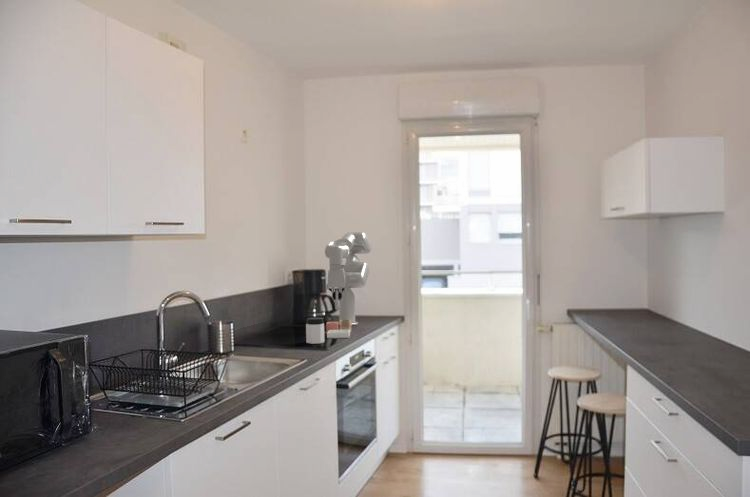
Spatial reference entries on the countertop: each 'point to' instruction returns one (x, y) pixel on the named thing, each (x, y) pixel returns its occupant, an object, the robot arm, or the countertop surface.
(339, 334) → the tray
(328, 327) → the red block small bore
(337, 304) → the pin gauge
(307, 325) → the jar
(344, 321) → the beech block wide bore
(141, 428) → the countertop surface
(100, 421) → the countertop surface
